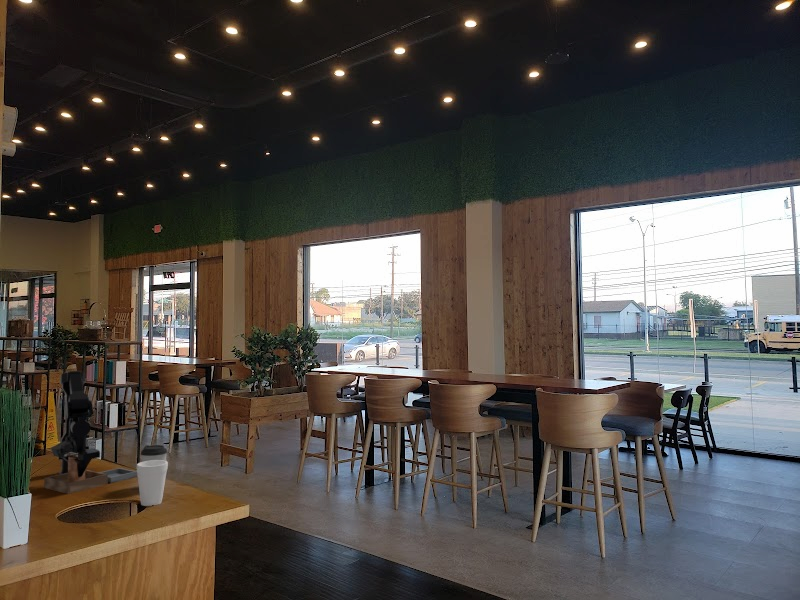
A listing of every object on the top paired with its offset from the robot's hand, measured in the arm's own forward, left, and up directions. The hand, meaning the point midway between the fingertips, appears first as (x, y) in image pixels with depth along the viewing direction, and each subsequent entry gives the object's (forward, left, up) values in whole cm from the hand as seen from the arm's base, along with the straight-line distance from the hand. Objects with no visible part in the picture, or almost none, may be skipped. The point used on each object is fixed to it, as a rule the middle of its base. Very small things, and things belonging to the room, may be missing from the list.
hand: (76, 476), depth 210 cm
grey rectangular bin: (+2, +14, -4) cm, 15 cm away
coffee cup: (+24, +14, -4) cm, 28 cm away
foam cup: (+39, +2, -4) cm, 39 cm away
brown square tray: (0, 0, -4) cm, 4 cm away
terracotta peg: (0, 0, -3) cm, 3 cm away
